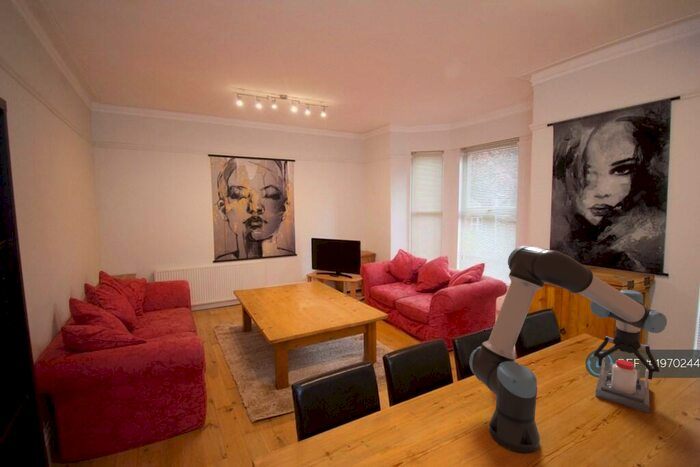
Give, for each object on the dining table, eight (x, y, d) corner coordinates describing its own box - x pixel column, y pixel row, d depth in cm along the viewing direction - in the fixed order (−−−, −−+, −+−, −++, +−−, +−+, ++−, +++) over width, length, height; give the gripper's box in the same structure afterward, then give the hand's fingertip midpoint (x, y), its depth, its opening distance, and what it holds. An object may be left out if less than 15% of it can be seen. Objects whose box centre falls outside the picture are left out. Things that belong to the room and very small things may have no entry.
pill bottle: (606, 386, 135) (608, 360, 134) (617, 381, 138) (619, 356, 137) (629, 396, 128) (631, 369, 127) (639, 391, 131) (642, 365, 130)
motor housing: (648, 413, 122) (651, 387, 121) (595, 396, 133) (597, 372, 132) (647, 388, 138) (650, 365, 137) (600, 375, 149) (602, 354, 148)
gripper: (670, 334, 125) (665, 387, 127) (590, 319, 142) (586, 365, 144) (672, 341, 120) (666, 396, 122) (588, 323, 136) (584, 372, 138)
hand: (623, 379), depth 133 cm, fingers open, 13 cm apart
